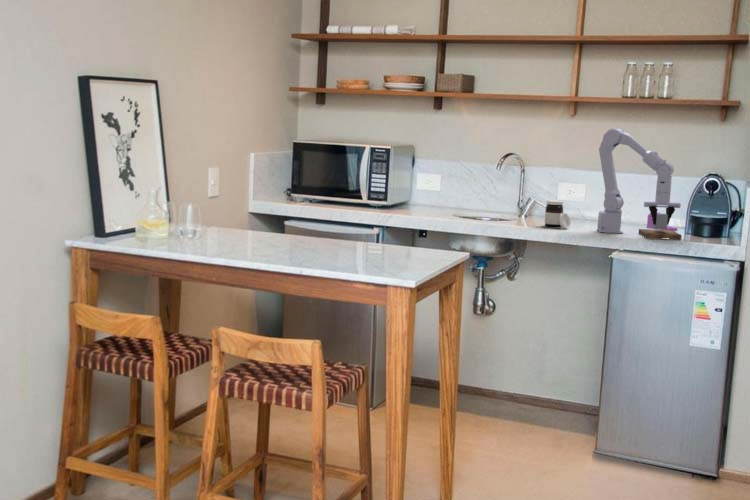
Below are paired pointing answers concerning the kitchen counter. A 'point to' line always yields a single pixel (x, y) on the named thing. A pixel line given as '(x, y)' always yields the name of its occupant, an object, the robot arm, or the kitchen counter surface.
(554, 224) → the spread jar
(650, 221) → the bracket
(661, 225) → the slate block
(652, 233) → the walnut board
